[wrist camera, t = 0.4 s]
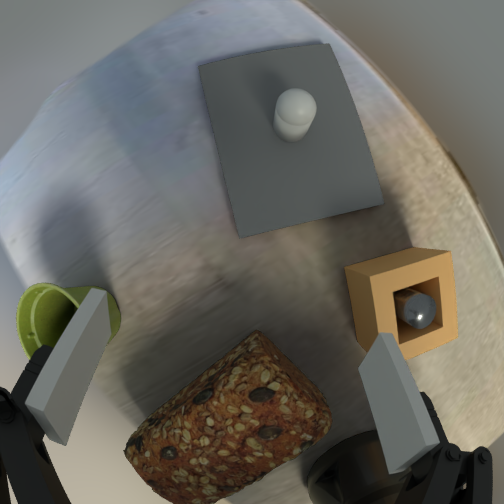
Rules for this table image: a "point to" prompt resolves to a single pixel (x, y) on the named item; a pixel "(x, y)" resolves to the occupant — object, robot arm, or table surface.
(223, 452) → the bread
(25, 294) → the plant pot
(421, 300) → the shiny metal cylinder
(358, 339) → the collar
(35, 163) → the table surface
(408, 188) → the table surface
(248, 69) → the board
